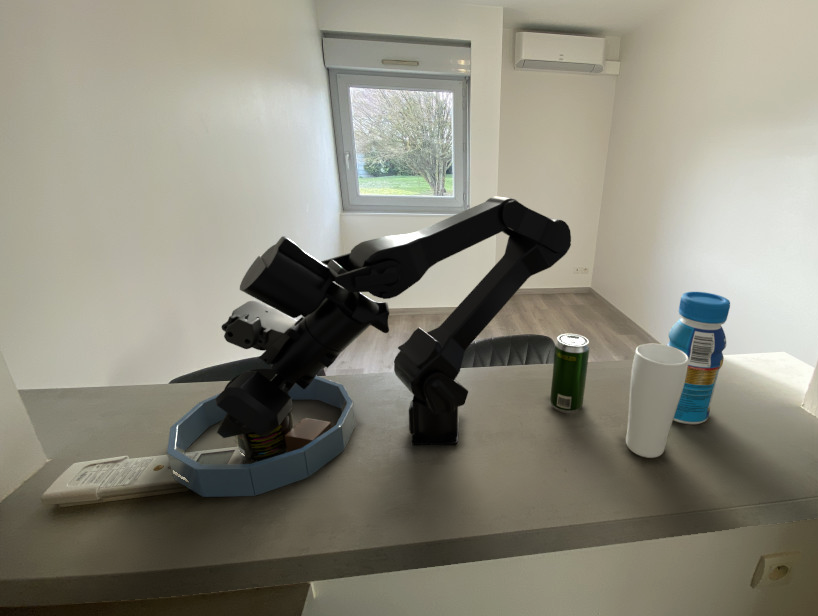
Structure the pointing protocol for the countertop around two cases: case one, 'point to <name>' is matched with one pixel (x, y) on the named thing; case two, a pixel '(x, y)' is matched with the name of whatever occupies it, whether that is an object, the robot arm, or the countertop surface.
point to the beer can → (569, 372)
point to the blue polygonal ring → (266, 472)
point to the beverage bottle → (699, 351)
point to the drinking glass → (654, 397)
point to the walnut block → (305, 433)
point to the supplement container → (265, 445)
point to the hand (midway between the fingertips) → (243, 411)
